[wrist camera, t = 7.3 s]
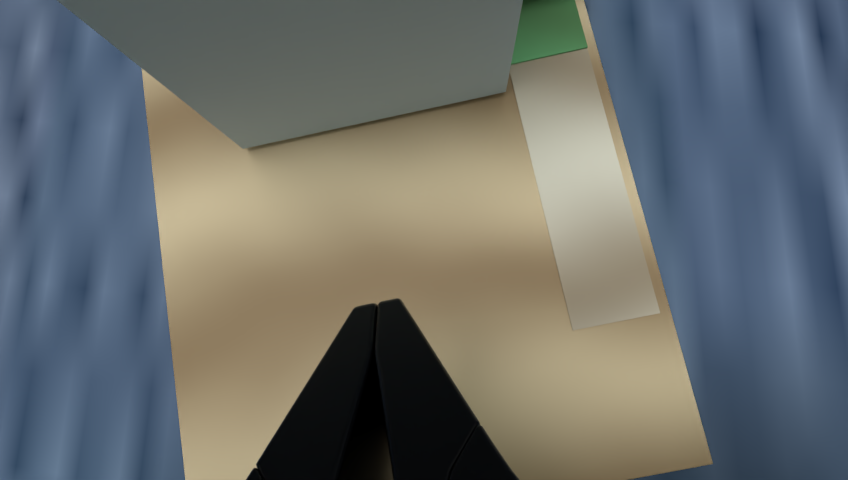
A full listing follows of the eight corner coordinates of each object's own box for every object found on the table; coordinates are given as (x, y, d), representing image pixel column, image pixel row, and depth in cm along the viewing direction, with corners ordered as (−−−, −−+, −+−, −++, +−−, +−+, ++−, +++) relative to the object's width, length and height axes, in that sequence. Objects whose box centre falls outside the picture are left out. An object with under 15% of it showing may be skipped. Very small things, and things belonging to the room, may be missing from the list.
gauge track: (696, 454, 14) (715, 465, 13) (211, 543, 15) (191, 561, 14) (505, -239, 18) (508, -275, 17) (134, -149, 19) (113, -178, 18)
